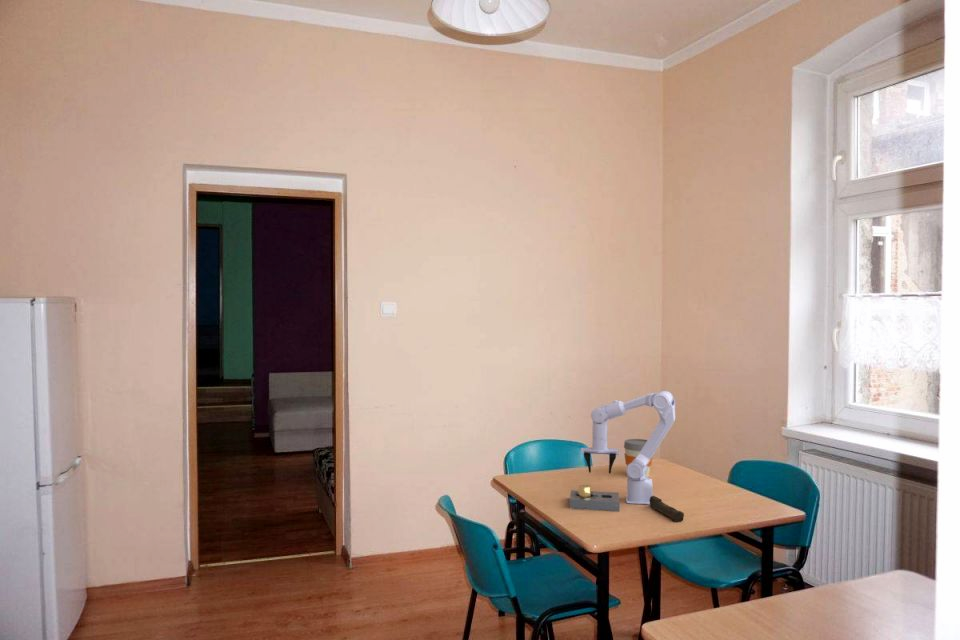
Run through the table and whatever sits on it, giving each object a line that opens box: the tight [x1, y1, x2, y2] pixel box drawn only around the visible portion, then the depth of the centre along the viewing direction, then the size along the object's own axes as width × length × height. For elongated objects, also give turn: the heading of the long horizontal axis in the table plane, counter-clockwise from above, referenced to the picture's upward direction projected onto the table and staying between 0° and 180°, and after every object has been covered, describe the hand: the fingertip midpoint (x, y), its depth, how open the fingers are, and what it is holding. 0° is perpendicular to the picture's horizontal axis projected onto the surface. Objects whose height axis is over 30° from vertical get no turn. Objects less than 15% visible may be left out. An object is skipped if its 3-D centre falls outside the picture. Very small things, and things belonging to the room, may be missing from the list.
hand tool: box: [649, 495, 685, 523], centre depth 231 cm, size 19×4×5 cm, turn 14°
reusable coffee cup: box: [623, 438, 653, 478], centre depth 283 cm, size 13×12×15 cm
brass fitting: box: [578, 484, 592, 498], centre depth 241 cm, size 4×4×7 cm
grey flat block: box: [569, 489, 621, 512], centre depth 241 cm, size 18×12×4 cm, turn 80°
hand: (599, 472), depth 252 cm, fingers open, 7 cm apart
